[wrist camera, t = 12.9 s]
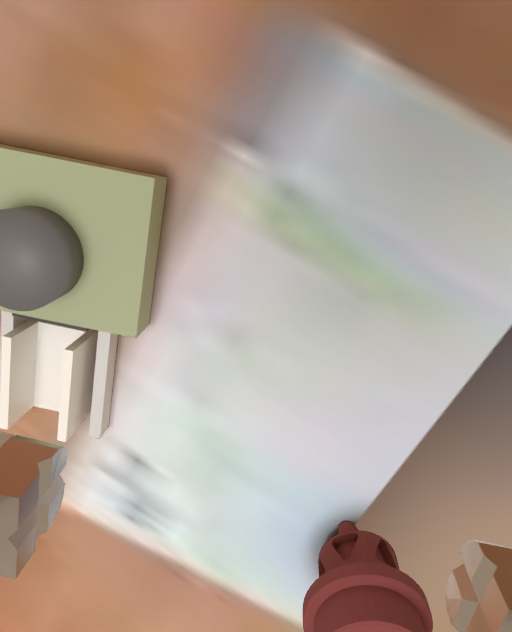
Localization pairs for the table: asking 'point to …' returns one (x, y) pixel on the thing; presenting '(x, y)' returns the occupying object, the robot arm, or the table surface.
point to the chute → (47, 373)
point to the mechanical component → (363, 588)
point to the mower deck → (102, 230)
